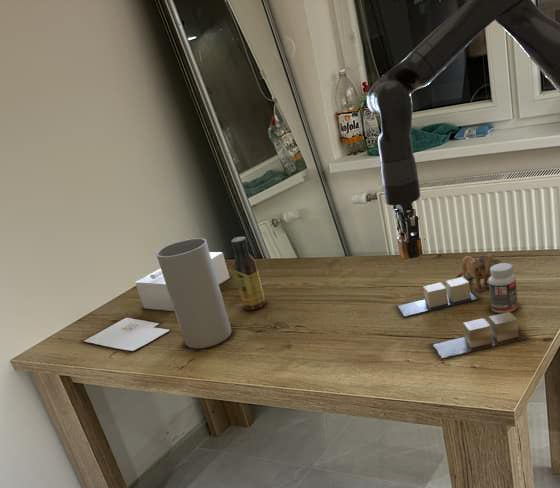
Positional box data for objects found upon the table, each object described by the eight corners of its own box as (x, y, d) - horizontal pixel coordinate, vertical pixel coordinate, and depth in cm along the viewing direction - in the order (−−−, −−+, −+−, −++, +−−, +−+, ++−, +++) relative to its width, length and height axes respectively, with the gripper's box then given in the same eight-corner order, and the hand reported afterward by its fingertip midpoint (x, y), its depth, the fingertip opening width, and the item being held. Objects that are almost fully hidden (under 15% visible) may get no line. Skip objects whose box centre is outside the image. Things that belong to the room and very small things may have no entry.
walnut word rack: (513, 326, 144) (512, 308, 143) (526, 339, 138) (525, 320, 136) (432, 345, 145) (430, 327, 143) (442, 359, 139) (439, 340, 137)
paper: (80, 343, 195) (78, 340, 195) (124, 317, 206) (123, 314, 205) (135, 352, 179) (134, 349, 179) (180, 324, 190) (179, 321, 190)
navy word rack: (467, 290, 166) (466, 273, 165) (477, 300, 160) (475, 283, 158) (397, 306, 167) (395, 290, 165) (404, 317, 161) (401, 300, 159)
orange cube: (418, 249, 155) (415, 232, 154) (423, 254, 151) (420, 237, 150) (399, 253, 156) (396, 237, 154) (403, 259, 152) (401, 242, 150)
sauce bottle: (241, 306, 192) (223, 239, 183) (262, 299, 193) (245, 232, 184) (248, 313, 186) (229, 244, 177) (269, 306, 187) (251, 237, 178)
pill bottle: (517, 313, 150) (513, 270, 145) (490, 314, 152) (486, 273, 148) (518, 302, 154) (515, 261, 150) (492, 303, 157) (488, 263, 152)
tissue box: (229, 277, 217) (220, 245, 212) (175, 311, 201) (164, 276, 196) (198, 276, 226) (189, 245, 221) (143, 308, 210) (132, 275, 205)
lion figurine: (506, 287, 163) (503, 252, 159) (488, 295, 161) (485, 259, 157) (465, 275, 175) (461, 242, 171) (448, 282, 173) (444, 249, 169)
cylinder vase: (229, 323, 183) (204, 234, 171) (234, 341, 171) (207, 247, 160) (184, 336, 182) (156, 247, 171) (186, 354, 171) (156, 261, 160)
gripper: (426, 181, 139) (436, 259, 147) (409, 169, 152) (419, 241, 160) (390, 190, 140) (402, 267, 147) (376, 177, 152) (388, 249, 160)
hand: (411, 253), depth 153 cm, fingers closed on orange cube, 4 cm apart
